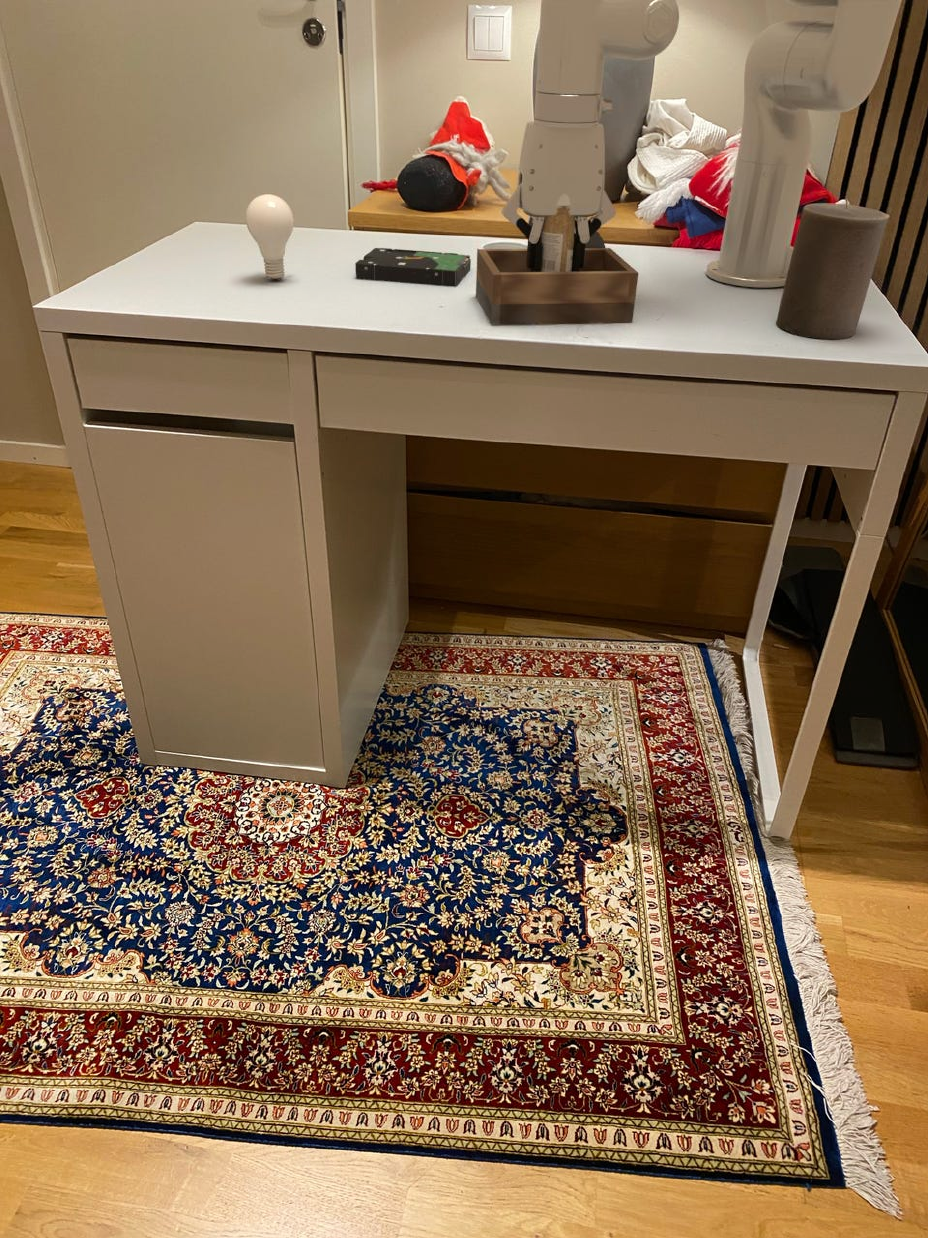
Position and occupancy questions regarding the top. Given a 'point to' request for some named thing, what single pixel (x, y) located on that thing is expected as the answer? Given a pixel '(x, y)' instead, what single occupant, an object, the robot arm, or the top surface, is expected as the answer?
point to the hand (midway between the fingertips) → (554, 272)
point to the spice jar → (558, 239)
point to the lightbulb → (270, 231)
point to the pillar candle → (830, 270)
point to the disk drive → (413, 267)
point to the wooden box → (555, 289)
